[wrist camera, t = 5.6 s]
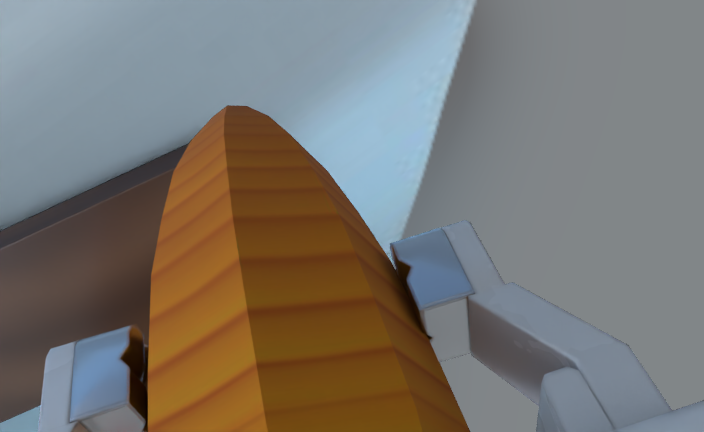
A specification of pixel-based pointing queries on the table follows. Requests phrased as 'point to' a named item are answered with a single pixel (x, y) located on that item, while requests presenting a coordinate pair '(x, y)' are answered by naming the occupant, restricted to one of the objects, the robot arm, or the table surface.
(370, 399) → the carrot
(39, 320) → the walnut board
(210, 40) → the table surface
